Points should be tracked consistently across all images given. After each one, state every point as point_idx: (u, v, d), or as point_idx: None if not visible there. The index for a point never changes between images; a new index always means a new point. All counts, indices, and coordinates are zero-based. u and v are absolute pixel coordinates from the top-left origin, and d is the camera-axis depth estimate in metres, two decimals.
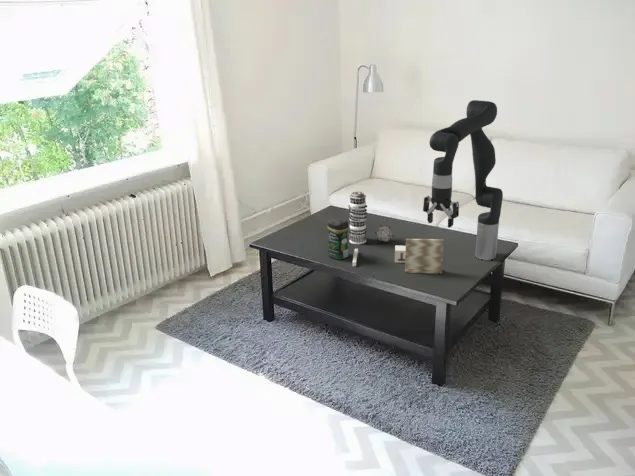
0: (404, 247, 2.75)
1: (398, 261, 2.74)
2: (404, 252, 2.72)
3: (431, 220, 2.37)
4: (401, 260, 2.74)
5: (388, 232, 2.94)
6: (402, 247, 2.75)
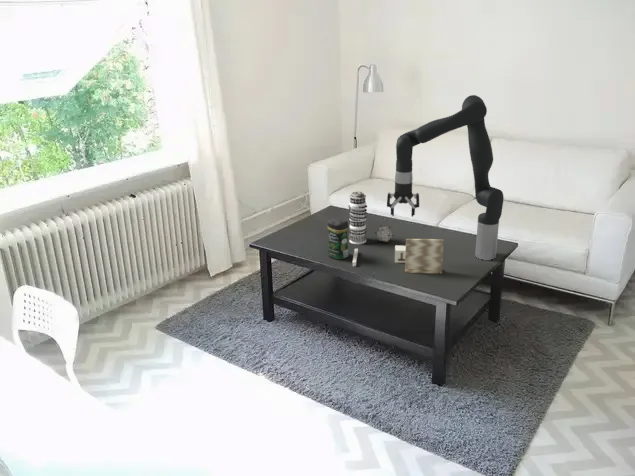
0: (404, 247, 2.75)
1: (398, 261, 2.74)
2: (404, 252, 2.72)
3: (411, 214, 2.68)
4: (401, 260, 2.74)
5: (388, 232, 2.94)
6: (402, 247, 2.75)
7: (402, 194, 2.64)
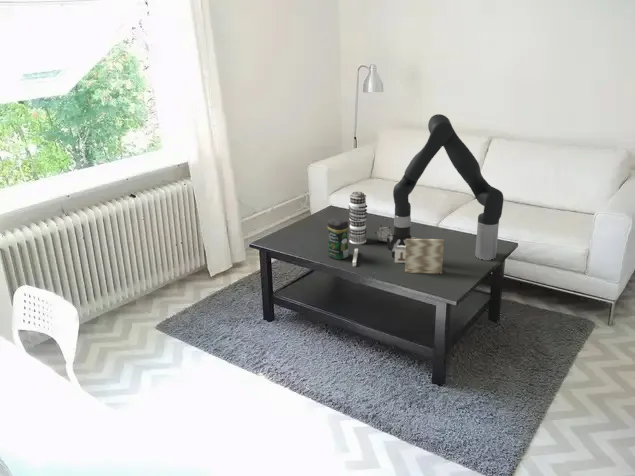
0: (404, 247, 2.75)
1: (398, 261, 2.74)
2: (404, 252, 2.72)
3: None
4: (401, 260, 2.73)
5: (388, 232, 2.94)
6: (402, 247, 2.75)
7: (401, 237, 2.71)
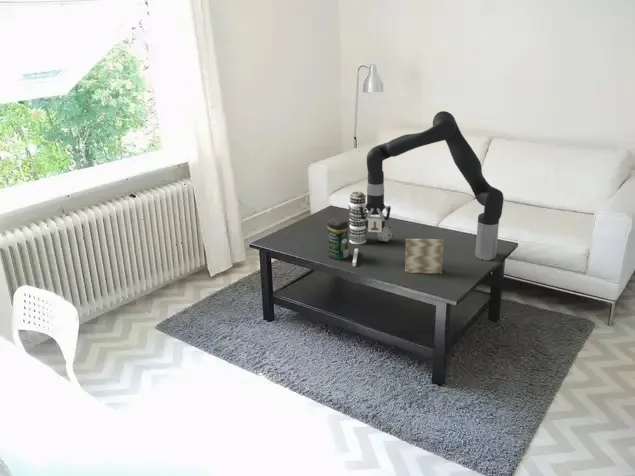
0: (378, 216, 2.71)
1: (371, 230, 2.69)
2: (377, 221, 2.67)
3: None
4: (374, 229, 2.69)
5: (388, 232, 2.94)
6: (376, 216, 2.71)
7: (374, 205, 2.67)
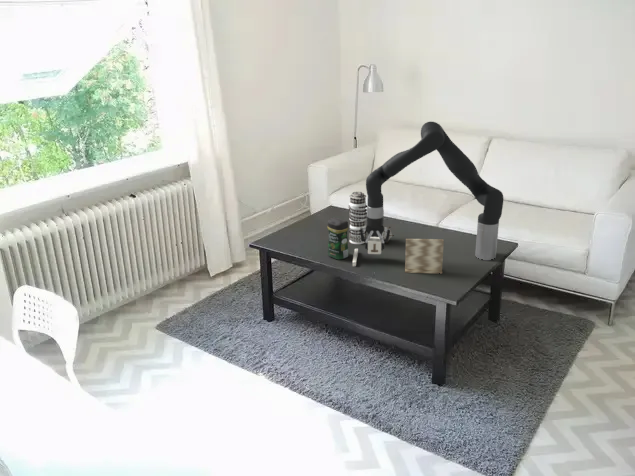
0: (377, 238, 2.75)
1: (371, 252, 2.73)
2: (377, 243, 2.71)
3: (381, 248, 2.75)
4: (374, 251, 2.73)
5: None
6: (375, 238, 2.75)
7: (374, 228, 2.71)
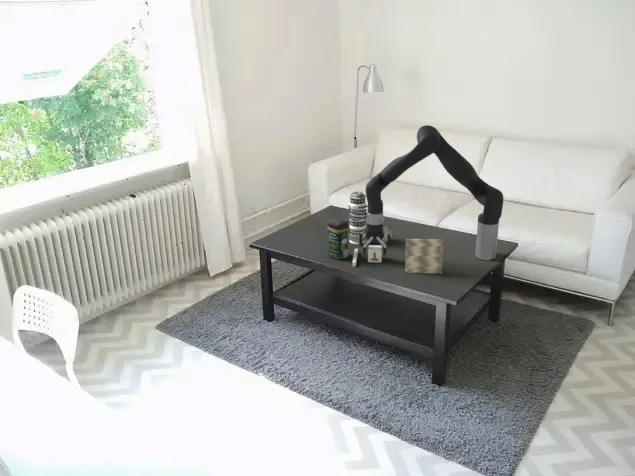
0: (377, 247, 2.76)
1: (371, 261, 2.75)
2: (377, 252, 2.73)
3: (383, 252, 2.76)
4: (374, 260, 2.75)
5: (388, 232, 2.94)
6: (375, 247, 2.76)
7: (374, 234, 2.72)
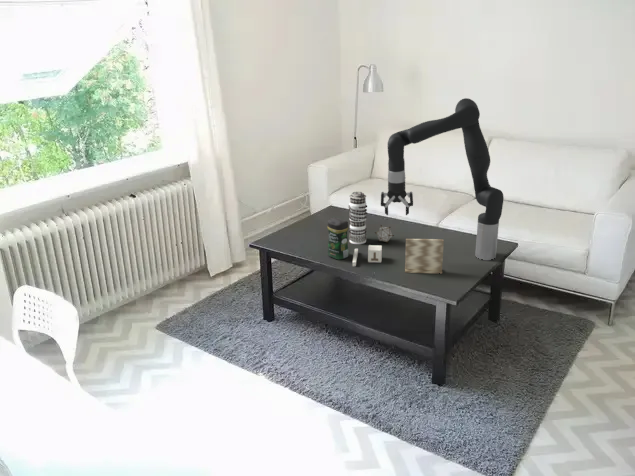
0: (377, 247, 2.76)
1: (371, 261, 2.75)
2: (377, 252, 2.73)
3: None
4: (374, 260, 2.75)
5: (388, 232, 2.94)
6: (375, 247, 2.76)
7: (395, 193, 2.64)
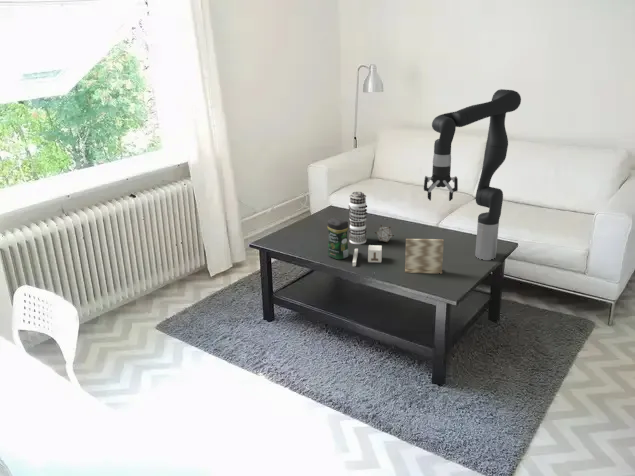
0: (377, 247, 2.76)
1: (371, 261, 2.75)
2: (377, 252, 2.73)
3: (449, 198, 2.60)
4: (374, 260, 2.75)
5: (388, 232, 2.94)
6: (375, 247, 2.76)
7: (440, 177, 2.56)
